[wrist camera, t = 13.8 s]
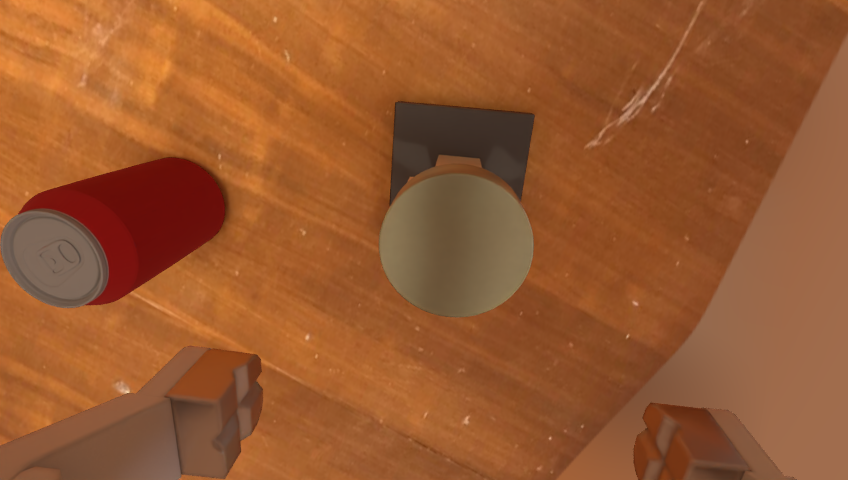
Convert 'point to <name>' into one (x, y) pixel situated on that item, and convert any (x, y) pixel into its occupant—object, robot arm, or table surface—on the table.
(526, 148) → the stand
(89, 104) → the table surface
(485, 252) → the disc
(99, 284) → the beverage can
